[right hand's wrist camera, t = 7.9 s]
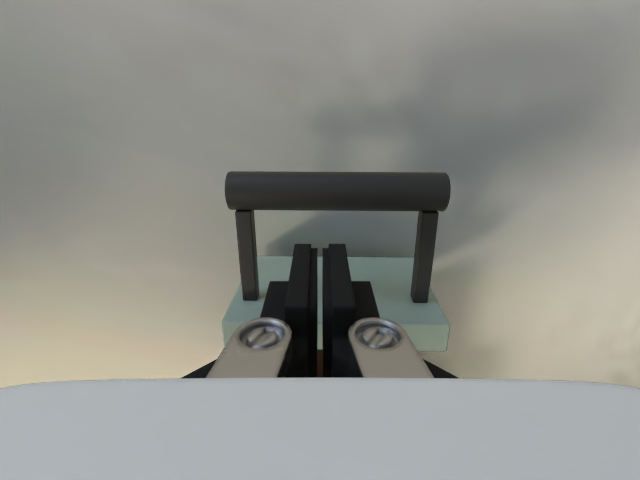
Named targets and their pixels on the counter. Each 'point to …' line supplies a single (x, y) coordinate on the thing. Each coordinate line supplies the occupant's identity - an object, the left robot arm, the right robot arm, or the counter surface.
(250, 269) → the drawer
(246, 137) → the counter surface
